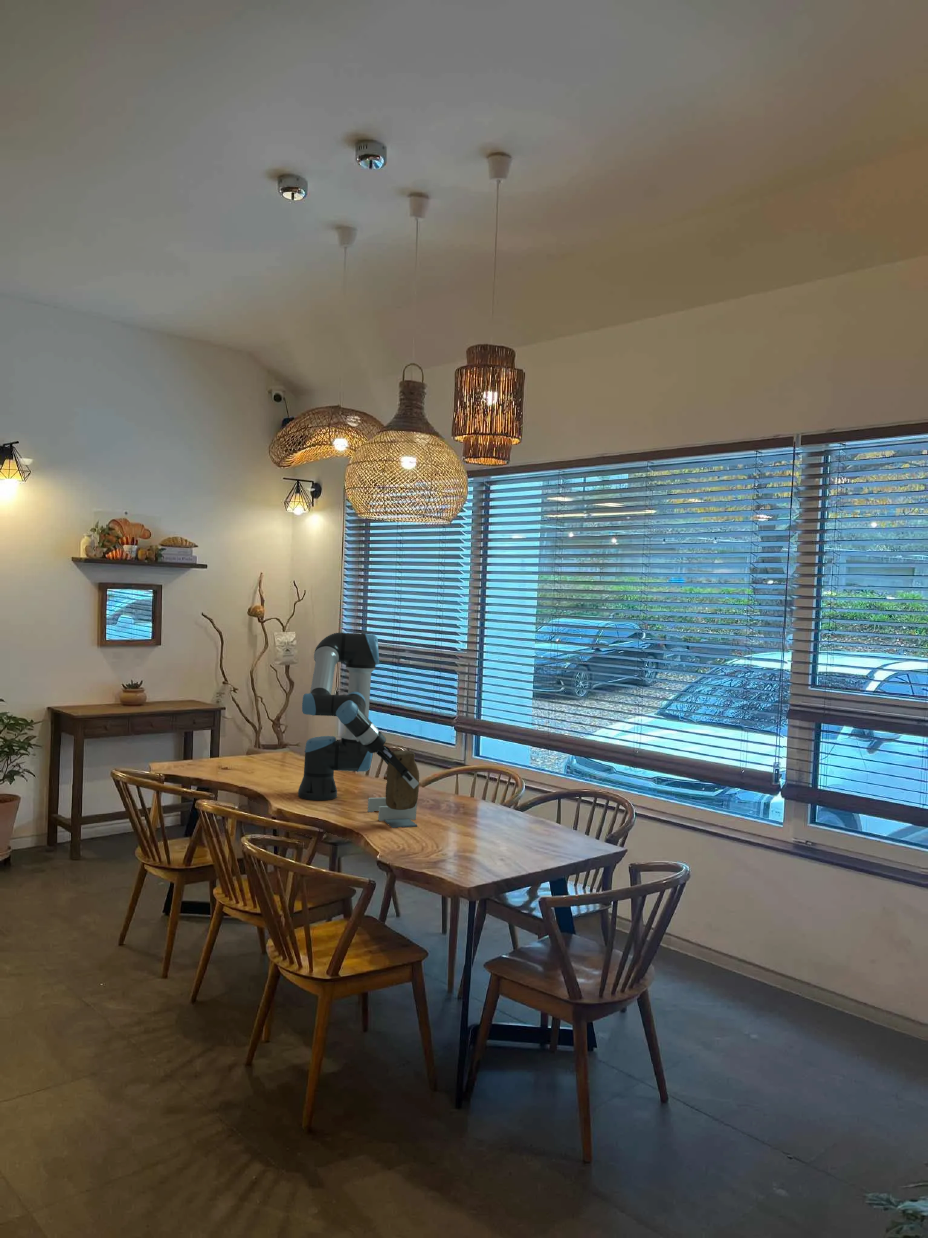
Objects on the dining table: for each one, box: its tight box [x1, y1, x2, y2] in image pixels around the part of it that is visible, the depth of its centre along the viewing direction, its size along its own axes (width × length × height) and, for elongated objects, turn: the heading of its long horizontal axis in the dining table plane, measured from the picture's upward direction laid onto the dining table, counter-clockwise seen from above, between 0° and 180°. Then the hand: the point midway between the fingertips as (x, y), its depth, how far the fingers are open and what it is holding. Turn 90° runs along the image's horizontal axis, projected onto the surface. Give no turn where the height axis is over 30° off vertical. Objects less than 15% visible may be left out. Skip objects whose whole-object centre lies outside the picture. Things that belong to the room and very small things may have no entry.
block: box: [385, 750, 420, 810], centre depth 313 cm, size 11×8×20 cm
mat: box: [383, 818, 418, 829], centre depth 314 cm, size 9×9×1 cm
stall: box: [367, 796, 418, 822], centre depth 325 cm, size 14×14×9 cm
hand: (411, 783), depth 314 cm, fingers closed on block, 8 cm apart
